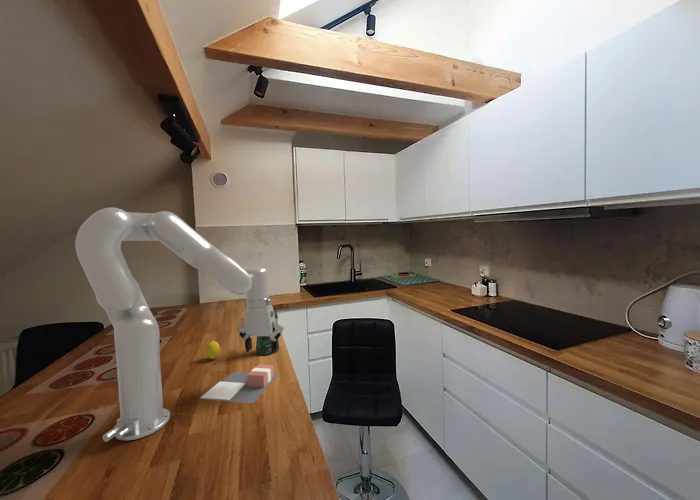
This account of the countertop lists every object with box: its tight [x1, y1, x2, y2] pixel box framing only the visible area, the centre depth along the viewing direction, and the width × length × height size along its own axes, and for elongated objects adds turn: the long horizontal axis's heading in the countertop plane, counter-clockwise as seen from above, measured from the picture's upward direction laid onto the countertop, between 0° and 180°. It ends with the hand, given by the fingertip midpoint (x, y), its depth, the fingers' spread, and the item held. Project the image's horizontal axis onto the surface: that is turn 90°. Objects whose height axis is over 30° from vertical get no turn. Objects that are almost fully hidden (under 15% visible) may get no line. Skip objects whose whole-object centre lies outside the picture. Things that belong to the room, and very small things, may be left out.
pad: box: [200, 381, 246, 401], centre depth 96 cm, size 10×10×1 cm
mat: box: [201, 371, 278, 404], centre depth 99 cm, size 18×18×1 cm
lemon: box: [205, 340, 221, 360], centre depth 123 cm, size 6×6×8 cm
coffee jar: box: [255, 309, 280, 356], centre depth 129 cm, size 10×8×19 cm
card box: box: [247, 364, 275, 387], centre depth 102 cm, size 8×6×4 cm
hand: (261, 350), depth 102 cm, fingers open, 9 cm apart
